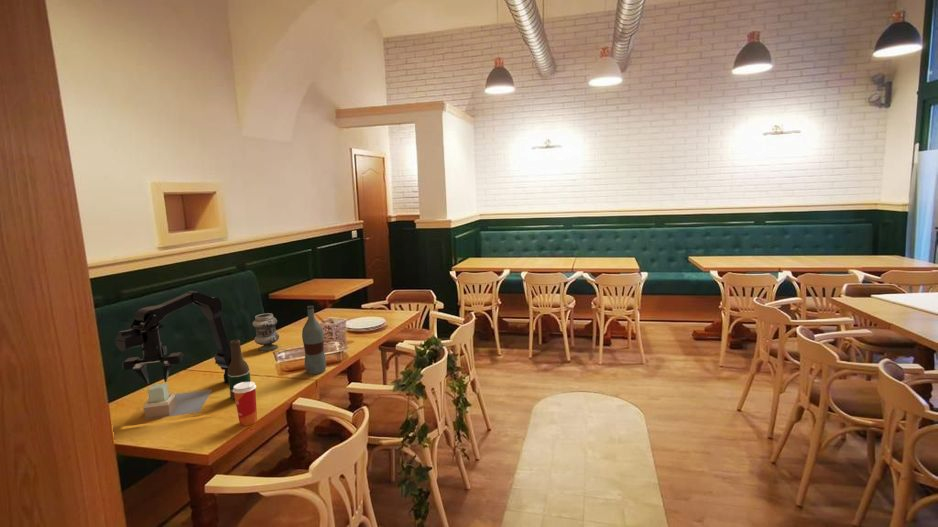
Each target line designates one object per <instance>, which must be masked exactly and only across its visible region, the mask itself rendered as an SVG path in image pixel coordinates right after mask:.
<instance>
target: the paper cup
mask: <svg viewBox="0 0 938 527" xmlns="http://www.w3.org/2000/svg"><path fill="white" fill-rule="evenodd" d="M256 388H257V385H256V383H255V382H254V381H250V382H241V383H238V384H236V385H235V386H234V387H233V392H234V396H235V406H236V411H237V412H236V413H237V418H238V421H239V425H240V426H241V427H248V426H252V425H254V424H256V423H257V421H258V416H257V396H256V395H257V394H256V392H257V391H256Z"/></svg>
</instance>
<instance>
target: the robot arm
mask: <svg viewBox="0 0 938 527" xmlns="http://www.w3.org/2000/svg"><path fill="white" fill-rule="evenodd" d="M190 304H193V305H196V306H198V308H199V309H200V311H201V312H202V314H203V315H204V316H205V317H206V319H207V320H208V323H209V327H210V330H211V333H212V336H213V339H214V342H215V346H216V349H217V351H216V353H215V354H214V355H213V358H214V361H215V362H214V363H215V365H217V366H218V367H220V369H221V371H224V373H223V381H224V384H229V380H228V367H229V365H230V363H231V345H230V342H229V338H228V335H227V332H226V328H225V325H224V322H223V318H222V314H223V310H224V309H223V308H224V307H223V301H222V300H221V298H219V297H214V296H209V295H205V294H203V293H201V292H199V291H194V290H189V291H187V292H185V293H183V294H181V295H178V296H176V297H174V298H172V299H169V300H167V301H165V302H162V303H160V304H157V305H151V306H145V307H142V308H139V309H138V310H137V311H136V312H135V315H134V318H133V320H132V322H131V324H130V326H129V327H128V329H127V330H119V331H117V332H118V333H117V334H118V335H117V336H116V338H115V344H116V347H117V348H118V350H119V351H121V352H125V351H128V350H130V349H133V348H138V347H140V346H141V347H140V349H141V351H142V353H143V354H142V355H143V358H142V359H141V357H139V356H134V357H128V358H127V359H125V360H124V361H123V362H122V365H121V368H122V370H123V371H127V370H132V371H131V372H135V373H136V374H137V375H139V376H140V378H141V379H142V380H143V381H144V383H145V384H146V385H149V384H150V379H149V374H148V371H147V368H148V367H147V366H148V365H150V364H159V363H163V364H164V365H162V373H163V380H164V381H163V382H164V383H167V382H168V378H169V374H170V371H171V367H173V365H178V364H181V363H182V362H183V361H184V360H185V355H184V354H185V353H183V352H182V351H180V352H179V351H178V352H171V353H170V354H169V355H168V348H167V347H168V346H167V345H163V343H162V341H161V338H160V331H159V330H161V329H163V328H165V325H164V324H162V323H160V322H161V321H162V320H164V318H166V317H167V316H168V315H170V314H172V313H173V312H174V313H175V312H176V311H177V310H180V309H183V308H184V307H187V306H188V305H190ZM165 355H166V356H165ZM167 355H168V356H167Z"/></svg>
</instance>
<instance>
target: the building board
mask: <svg viewBox="0 0 938 527" xmlns="http://www.w3.org/2000/svg"><path fill="white" fill-rule="evenodd" d="M213 390H214V389H205V390H198V391H197V390H196V391H188V392H181V393H175V392H173V393H169V398H168V400H167V401H164V402H156V403H150V402H149V398H148V399H147V400H146V401H145V403H144V404H143V411H144V420H145V421H146V420H152V419H159V418H160V419H161V418H167V417H175V416H181V415H189V414H195V413H196V414H197V413H200V411H201V410H202V408H203V406H204V405H205V403H206V401H207V400H208V398H209V397H210V395H211V393H212V392H213Z"/></svg>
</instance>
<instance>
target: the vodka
mask: <svg viewBox="0 0 938 527" xmlns="http://www.w3.org/2000/svg"><path fill="white" fill-rule="evenodd" d="M306 309H307V320H306V322H305V324H304V325H303V328H302V333H301V339H302V343H303V348H304V349H303V350H304V368H305V371H306V374H308V375H319V374H322V373H324V372H326V368H327V358H326V354H325V350H324V349H325V348H324V347H325V346H324V345H325V344H324V342H325V341H324V337H325V336H324V335H325V334H324V329H323V327H322V325H321V324H320V322H319V321H318V320H317V319H316V318H315V310H314V305H308V306H306Z"/></svg>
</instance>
